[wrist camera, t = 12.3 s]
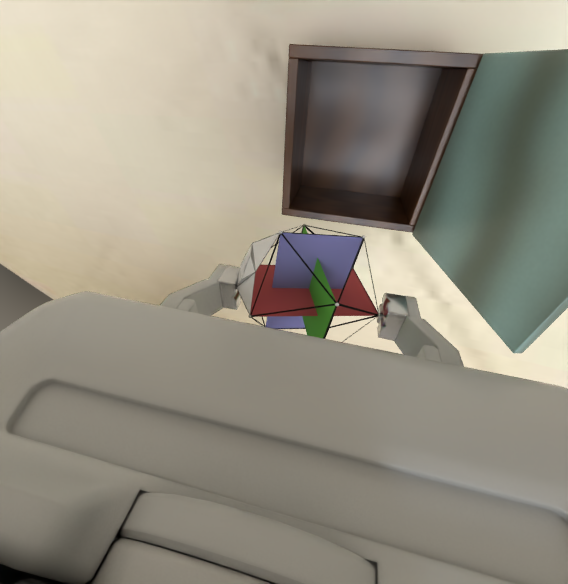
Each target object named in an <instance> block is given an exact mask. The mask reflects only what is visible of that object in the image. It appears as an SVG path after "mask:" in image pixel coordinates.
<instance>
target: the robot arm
mask: <svg viewBox="0 0 568 584" xmlns="http://www.w3.org/2000/svg"><path fill="white" fill-rule="evenodd" d="M239 271H240V267H235V266H228V265H224V264H219V265H218V266H217V268H216V269H215V270H214V272H213V273H212V274H211V276H210V277H209V278H208V280H206V279H205V280H202V281H200V282H198V283H195V284H193V285H190V286H188V287H186V288H183V289H181V290H179V291H176V292H174V293H171V294H169V295H168V296H167V298H166V299H165V300H164V301H163V302H162V303H161V304H160V306H159V305H154V304H149V303H144V302H139V301H134V300H129V299H124V298H119V297H114V296H109V295H105V294H100V293H96V292H88V291H85V292H80V293H76V294H72V295H68V296H65V297H62V298H59V299H56V300H53V301H49V302H47V303H44V304H43V305H41V306H39V307H37V308H35V309H34V310H32V311H30V312H29V313H27V314H26V315H24V316H23V317H21V318H20V319H18V320H17V321H15V322H14V323H12V324H11V325H9V326H8V327H6V328H5V329H3V330H2V331H1V332H0V584H568V389H567V388H564V387H561V386H557V385H552V384H547V383H542V382H537V381H532V380H527V379H522V378H517V377H512V376H507V375H502V374H497V373H492V372H487V371H482V370H477V369H472V368H467V367H464V365H463V362H462V360H461V357H460V354H459V351H458V350H457V349H456V348H455V347H454V346H453V345H452V344H451V343H449V342H448V341H447V340H446V339H445V338H444V337H443V336H442V335H441V334H440V333H439V332H437V331H436V330H435V329H434V328H433V327H432V326H431V325H430V324H429V323H428V322H427V321H425V320H424V319H421V316H420V312H419V308H418V304H417V300H416V298H415V297H410V296H401V295H395V294H389V293H385V294H384V295H383V298H382V304H380V306H379V308H378V312H379V314H380V315H381V316H380V317H377V322H378V323H379V325H378V328H377V330H378V337H379V338H384V339H388V340H393V341H394V342H395V343H396V344H397V346H398V347H399V349H400V350H401V351H402V353H403V354H404V355H403V354H398V353H393V352H388V351H383V350H378V349H373V348H368V347H363V346H358V345H353V344H348V343H343V342H338V341H333V340H328V339H323V338H318V337H313V336H308V335H303V334H298V333H293V332H288V331H283V330H278V329H273V328H268V327H263V326H258V325H253V324H248V323H243V322H239V321H234V320H229V319H224V318H219V317H214V316H211V315H213V314H214V313H216V312H217V311H219V310H220V309H222V307H224V308H230V309H236V310H237V309H238V307H239V305H240V303H241V296H240V294H239V292H238V290H237V284H238V276H239Z"/></svg>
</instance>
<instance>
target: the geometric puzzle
mask: <svg viewBox="0 0 568 584" xmlns="http://www.w3.org/2000/svg"><path fill="white" fill-rule="evenodd" d="M306 226H307V225H305V224H303V225H302V227H303V229H302V233H294V232H295V231H294V232H293V233H288V232H284V231H283V232H282V231H279V233H277V234H275V235H272V236H269V237H267V238H264V239H261V240H259V241H256V242H253V243H252V244H251V246H250V248H249V250H248V252H247V253H246V255H245V257H244V259H243V261H242V263H241V265H240V271H239V276H238V284H237V290H238V292H239V294H240V296H241V298H242V300H243V303H244V305H245V307H246V309H247V311H248V313H249V318H252V317H255V316H267V322H266V327H268V328H273V329H306V332H307V335H308V336H313V337H318V338H323V339H325V337H326V335H327V332H328V330H329V328H332V327H336V326H340V325H344V324H348V323H352V322H357V321H361V320H365V319H369V318H373V317H380V316H381V315H380V314H379V312H377V310H376V308H375V306H374V304H373V303H372V301H371V299H370V297H369V296H368V294H367V292H366V290H365V288H364V287H363V285H362V283H361V281H360V279H359V278H358V276H357V274H356V272H355V271H354V264H355V262H356V259H357V257H358V254H359V251H360V249H361V246H362V244H363V241H365V239H364V238H365V236H364V235H363V236H362V237H361V236H358V237H355V236H356V235H353V236H338V235H322V234H314V233H313V232H312V231H311V230H310V229H309V228H308V227H306ZM299 227H300V226H299ZM309 227H312V226H309ZM296 228H297V227H296ZM300 228H301V227H300ZM300 228H299V229H300ZM306 228H307V229H308V230H309V231H310V232H311V233H312V234H308V233H307V231H306ZM314 228H317V227H314ZM292 229H293V228H292ZM319 229H322V228H319ZM289 230H290V229H289ZM297 230H298V229H297ZM297 230H296V231H297ZM324 230H327V229H324ZM286 231H287V230H286ZM328 231H332V230H328ZM333 232H336V231H333ZM338 233H341V232H338ZM343 234H346V233H343ZM348 235H351V234H348ZM278 236H279V237H278ZM277 237H278V240H277V242H276V244H275V245H273V244H274V242H275V240H276V239H277ZM279 238H280V240H279ZM278 241H279V242H278ZM278 243H279V246H278V252H277V259H276V265H270V263H271V260H272V257H273V254H274V252H275V249H276V246H277V244H278ZM272 245H273V246H275V248H274V251H273V253H272V256H271V259H270V262H269V264H268V265H260V264H261V263H262V261H263V260H264V258H265V256H266V255H267V253H268V252H269V250H270V248H272V247H273V246H272ZM365 247H366V244H365ZM366 252H367V249H366ZM367 257H368V254H367ZM368 262H369V260H368ZM369 267H370V265H369ZM370 273H371V270H370ZM371 278H372V275H371ZM372 283H373V281H372ZM373 288H374V286H373ZM374 294H375V291H374ZM375 299H376V296H375ZM376 304H377V301H376ZM377 309H378V307H377ZM334 316H372V317H368V318H364V319H360V320H356V321H352V322H348V323H344V324H339V325H335V326H331V327H330V324H331V322H332V319H333V317H334ZM252 319H254V318H252ZM262 319H263V317H262ZM374 319H375V318H374ZM374 319H373V320H374ZM254 320H255V319H254ZM255 321H256V322H257V323H260V322H258V321H257V320H255ZM370 322H371V321H370ZM370 322H369V323H370ZM263 323H264V320H263ZM260 324H261V323H260ZM367 324H368V323H367ZM367 324H366V325H367ZM261 326H262V324H261ZM263 326H264V327H265V323H264V325H263ZM363 327H364V326H363ZM363 327H362V328H363ZM359 330H360V329H359ZM359 330H358V331H359ZM356 332H357V331H356ZM356 332H355V333H356ZM352 335H353V334H352ZM352 335H351V336H352ZM349 337H350V336H349ZM349 337H348V338H349ZM345 340H346V339H345ZM345 340H344V341H345Z"/></svg>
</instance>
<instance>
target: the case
mask: <svg viewBox="0 0 568 584" xmlns="http://www.w3.org/2000/svg"><path fill="white" fill-rule="evenodd" d="M482 56H483V54H474V53H454V52H434V51H415V50H395V49H375V48H355V47H335V46H316V45H296V44H290V45H289V62H288V85H287V108H286V130H285V153H284V176H283V198H282V215H289V216H297V217H304V218H311V219H318V220H326V221H333V222H340V223H347V224H355V225H362V226H369V227H376V228H384V229H391V230H398V231H405V232H413V231H414V229H415V226H416V224H417V221H418V219H419V216H420V213H421V211H422V208H423V206H424V203H425V201H426V198H427V196H428V193H429V191H430V188H431V186H432V183H433V180H434V178H435V175H436V173H437V170H438V168H439V165H440V163H441V160H442V158H443V155H444V153H445V150H446V148H447V145H448V142H449V140H450V137H451V135H452V132H453V130H454V127H455V125H456V122H457V120H458V117H459V115H460V112H461V109H462V107H463V104H464V102H465V99H466V97H467V94H468V92H469V89H470V87H471V84H472V82H473V79H474V77H475V74H476V71H477V69H478V66H479V64H480V61H481V59H482Z"/></svg>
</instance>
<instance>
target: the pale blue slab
mask: <svg viewBox="0 0 568 584" xmlns="http://www.w3.org/2000/svg"><path fill="white" fill-rule="evenodd" d="M412 235H413V236H414V237H415V238H416V239H417V241H418V242H419V243H420V244H421V245H422V247H423V248H424V249H425V250H426V251H427V252H428V254H429V255H430V256H431V257H432V258H433V259H434V261H435V262H436V263H437V264H438V265H439V266H440V268H441V269H442V270H443V271H444V272H445V273H446V275H447V276H448V277H449V278H450V279H451V281H452V282H453V283H454V284H455V285H456V286H457V288H458V289H459V290H460V291H461V292H462V293H463V295H464V296H465V297H466V298H467V299H468V300H469V302H470V303H471V304H472V305H473V306H474V308H475V309H476V310H477V311H478V312H479V313H480V315H481V316H482V317H483V318H484V319H485V320H486V322H487V323H488V324H489V325H490V326H491V327H492V329H493V330H494V331H495V332H496V333H497V335H498V336H499V337H500V338H501V339H502V340H503V342H504V343H505V344H506V345H507V346H508V347H509V349H510V350H511V351H512V352H513V353H523V352H524V351H525V350H526V349H527V348H528V347H529V346H530V345H531V344H532V343H533V342H534V341H535V340H536V339H537V338H538V337H539V336H540V335H541V334H542V333H543V332H544V331H545V330H546V329H547V328H548V327H549V326H550V325H551V324H552V323H553V322H554V321H555V320H556V319H557V318H558V317H559V316H560V315H561V314H562V313H563V312H564V311H565V310H566V309H567V308H568V49H562V50H543V51H524V52H505V53H485V54H483V56H482V59H481V61H480V64H479V66H478V69H477V71H476V74H475V77H474V79H473V82H472V84H471V87H470V89H469V92H468V94H467V97H466V99H465V102H464V104H463V107H462V109H461V112H460V115H459V117H458V120H457V122H456V125H455V127H454V130H453V132H452V135H451V137H450V140H449V142H448V145H447V148H446V150H445V153H444V155H443V158H442V160H441V163H440V165H439V168H438V170H437V173H436V175H435V178H434V180H433V183H432V186H431V188H430V191H429V193H428V196H427V198H426V201H425V203H424V206H423V208H422V211H421V213H420V216H419V219H418V221H417V224H416V226H415V229H414V231H413V234H412Z"/></svg>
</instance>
